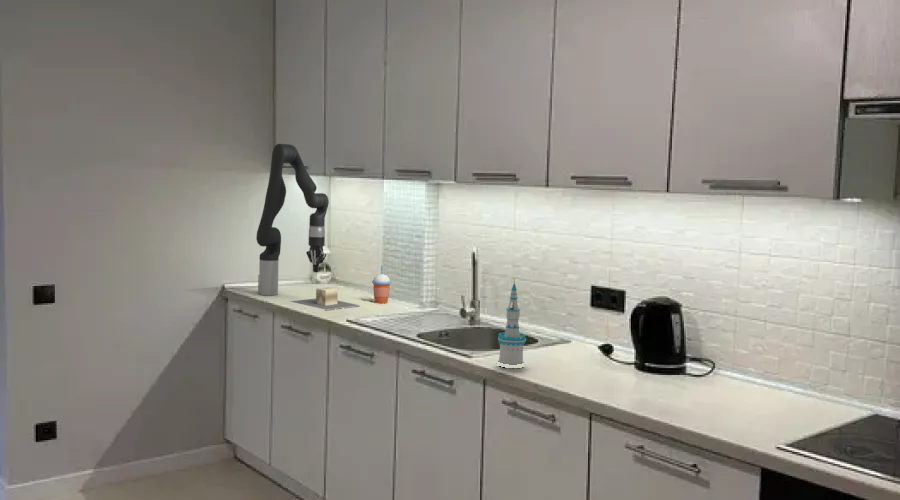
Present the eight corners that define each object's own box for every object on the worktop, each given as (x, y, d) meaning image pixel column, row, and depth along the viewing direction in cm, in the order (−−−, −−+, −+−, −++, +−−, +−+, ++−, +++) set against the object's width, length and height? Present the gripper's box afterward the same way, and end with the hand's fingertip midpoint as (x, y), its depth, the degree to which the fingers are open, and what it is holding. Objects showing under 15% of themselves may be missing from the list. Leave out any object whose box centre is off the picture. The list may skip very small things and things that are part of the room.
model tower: (508, 370, 287) (512, 280, 284) (490, 363, 295) (493, 276, 292) (531, 367, 293) (535, 279, 290) (513, 360, 301) (517, 275, 298)
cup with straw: (382, 304, 409) (383, 267, 407) (367, 302, 414) (368, 265, 412) (394, 302, 416) (395, 265, 414) (379, 300, 421) (380, 263, 419)
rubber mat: (289, 302, 405) (289, 301, 405) (323, 298, 420) (323, 297, 420) (325, 310, 387) (325, 309, 387) (359, 306, 401) (359, 305, 401)
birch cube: (316, 288, 401) (325, 290, 397) (328, 287, 406) (337, 289, 402) (316, 303, 402) (325, 305, 397) (327, 302, 407) (337, 304, 402)
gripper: (301, 234, 407) (300, 271, 408) (319, 237, 398) (318, 274, 399) (314, 234, 412) (313, 270, 414) (331, 236, 403) (330, 273, 405)
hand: (315, 272), depth 407 cm, fingers closed
